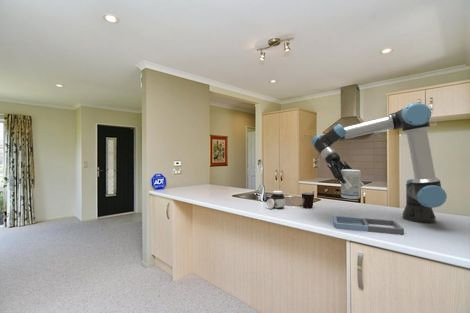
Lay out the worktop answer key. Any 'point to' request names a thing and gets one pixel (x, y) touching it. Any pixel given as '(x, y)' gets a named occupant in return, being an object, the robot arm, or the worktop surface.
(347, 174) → the supplement tub
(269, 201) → the spread jar
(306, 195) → the coffee mug
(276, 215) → the worktop surface
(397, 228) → the bay frame
